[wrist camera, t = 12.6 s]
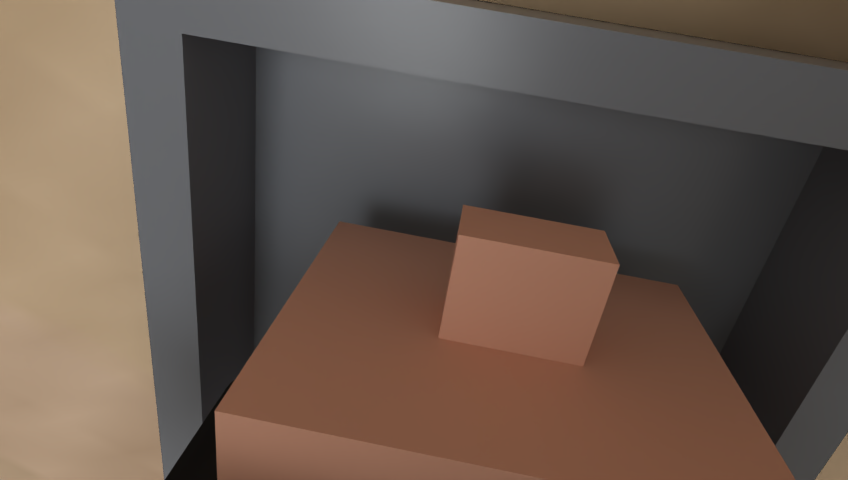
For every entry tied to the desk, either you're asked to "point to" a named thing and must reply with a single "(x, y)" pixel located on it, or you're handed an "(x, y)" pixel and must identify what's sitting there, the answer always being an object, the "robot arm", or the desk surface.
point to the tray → (486, 174)
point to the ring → (486, 367)
